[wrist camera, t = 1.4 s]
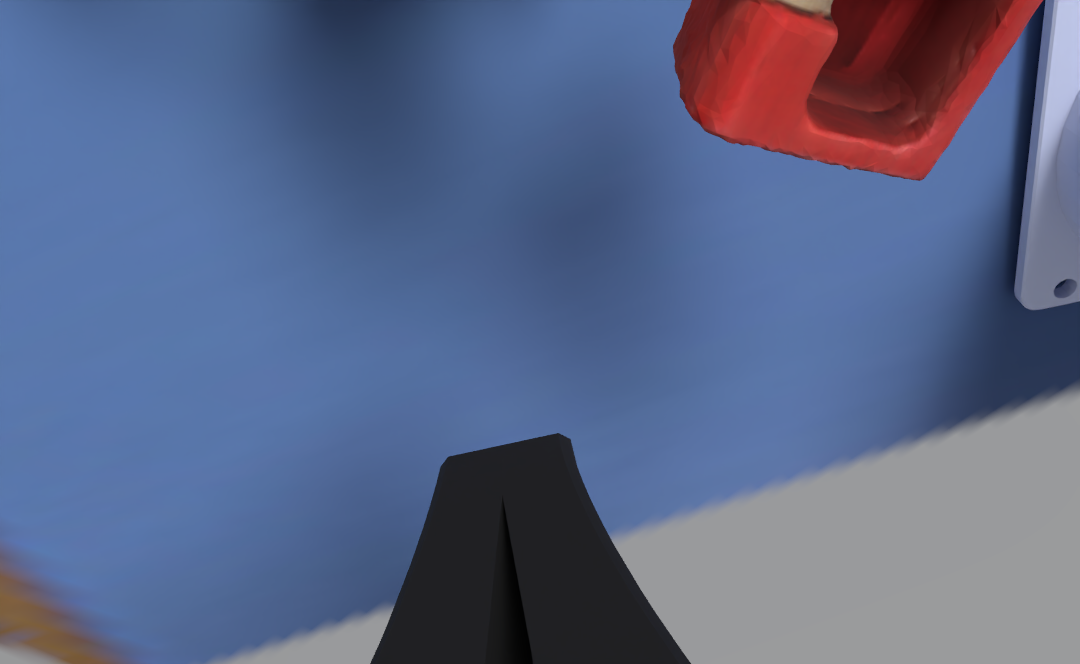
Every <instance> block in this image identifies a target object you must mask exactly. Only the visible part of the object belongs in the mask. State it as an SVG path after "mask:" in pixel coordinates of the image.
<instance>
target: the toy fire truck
mask: <svg viewBox="0 0 1080 664" xmlns="http://www.w3.org/2000/svg"><path fill="white" fill-rule="evenodd" d="M1042 1H1043V0H692V2H691V5H690V8H689V10H688V11H687V13H686V15H685V19H684V22H683V25H682V28H681V30H680V32H679V34H678V36H677V38H676V40H675V43H674V45H673V52H674V58H675V71H676V73H677V75H678V79H679V81H680V98H681V99H682V100H683V102H684V104H685V108H686V109H687V111H688V112H689V114H690V115H691V117H692V118H693V120H695V121H696V122H698V123H699V124H700V125H701V127H702V128H703V129H704V130H705V131H706V132H708V133H710V134H712V135H715V136H718V137H720V138H722V139H724V140H725V141H727V142H729V143H732V144H735V143H739V144H741V145H752V146H757V147H761V148H763V149H764V150H768V151H772V152H780V153H783V154H787V155H793V156H795V157H798V158H802V159H806V160H817V161H820V162H823V163H826V164H830V165H843V166H844V167H846V168H847V169H849V170H851V169H859V170H864V171H870V172H877V173H882V174H885V175H889V176H892V177H901V178H904V179H911V180H919V181H920V180H923V179H924V178H925V177H926V175H927V174H928V173H929V172H930V170H931V169H932V167H933V166H934V165H935V163H936V162H937V160H938V159H939V157H940V156H941V154H942V153H943V152H944V150H945V149H946V148H947V147H948V146H949V144H950V142H951V141H952V139H953V137H954V135H955V133H956V132H957V130H958V128H959V127H960V125H961V124H962V122H963V121H964V120H965V118H966V117H967V115H968V114H969V112H970V111H971V109H972V107H973V106H974V104H975V103H976V101H977V99H978V98H979V96H980V95H981V94H982V92H983V91H984V90H985V88H986V87H987V86H988V84H989V82H990V80H991V79H992V77H993V75H994V73H995V71H996V70H997V68H998V67H999V66H1000V64H1001V63H1002V62H1003V60H1004V59H1005V57H1006V56H1007V54H1008V53H1009V51H1010V50H1011V48H1012V47H1013V45H1014V44H1015V42H1016V41H1017V39H1018V38H1019V36H1020V34H1021V33H1022V31H1023V30H1024V28H1025V26H1026V25H1027V23H1028V22H1029V20H1030V18H1031V17H1032V15H1033V14H1034V12H1035V11H1036V10H1037V8H1038V7H1039V5H1040V4H1041V2H1042Z"/></svg>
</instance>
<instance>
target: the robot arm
mask: <svg viewBox="0 0 1080 664" xmlns="http://www.w3.org/2000/svg"><path fill="white" fill-rule="evenodd" d="M1066 279H1067V280H1066ZM1063 280H1066V282H1065V283H1064V284H1063V285H1062V286H1061V287H1058V288H1056V289H1055V287H1056V285H1058V284H1059V283H1060V282H1061V281H1063ZM1014 292H1015V297H1016V298H1017V299H1018V300H1019V301H1020V302H1021V304H1022V305H1023V306H1024V307H1025V308H1027V309H1030V310H1041V309H1046V308H1051V307H1055V306H1060V305H1065V304H1069V303H1074V302H1079V301H1080V0H1046V1H1045V10H1044V19H1043V29H1042V38H1041V47H1040V56H1039V66H1038V75H1037V84H1036V93H1035V103H1034V112H1033V121H1032V130H1031V139H1030V149H1029V158H1028V167H1027V176H1026V186H1025V195H1024V204H1023V213H1022V223H1021V232H1020V241H1019V250H1018V260H1017V269H1016V278H1015V287H1014ZM370 664H691V663H690V662H689V660H688V659H687V658H686V656H685V655H684V653H683V652H682V651H681V649H680V648H679V646H678V645H677V643H676V642H675V640H674V639H673V637H672V636H671V635H670V633H669V632H668V630H667V629H666V627H665V626H664V624H663V623H662V622H661V620H660V619H659V617H658V616H657V614H656V613H655V611H654V610H653V608H652V607H651V605H650V604H649V602H648V600H647V599H646V597H645V596H644V594H643V593H642V591H641V590H640V588H639V586H638V585H637V583H636V581H635V580H634V578H633V576H632V574H631V573H630V571H629V569H628V568H627V566H626V564H625V563H624V561H623V559H622V558H621V556H620V554H619V553H618V551H617V549H616V548H615V546H614V544H613V542H612V541H611V539H610V537H609V535H608V533H607V531H606V529H605V528H604V526H603V524H602V522H601V520H600V518H599V516H598V514H597V512H596V510H595V508H594V505H593V503H592V501H591V499H590V497H589V495H588V493H587V490H586V488H585V486H584V483H583V481H582V478H581V476H580V473H579V470H578V468H577V464H576V460H575V456H574V452H573V448H572V444H571V440H570V439H569V438H567V437H565V436H563V435H561V434H559V433H557V434H552V435H547V436H543V437H538V438H533V439H529V440H524V441H519V442H515V443H510V444H506V445H501V446H496V447H492V448H487V449H482V450H478V451H473V452H468V453H464V454H459V455H454V456H450V457H448V458H447V459H446V460H445V462H444V463H443V464H442V466H441V468H440V472H439V476H438V480H437V484H436V487H435V491H434V494H433V498H432V501H431V505H430V508H429V511H428V514H427V518H426V521H425V524H424V527H423V530H422V533H421V536H420V539H419V542H418V545H417V548H416V551H415V553H414V556H413V559H412V562H411V565H410V568H409V570H408V573H407V575H406V578H405V581H404V583H403V586H402V588H401V591H400V593H399V596H398V599H397V601H396V604H395V606H394V609H393V612H392V614H391V617H390V619H389V622H388V625H387V627H386V629H385V632H384V634H383V637H382V639H381V641H380V644H379V646H378V648H377V650H376V652H375V655H374V657H373V659H372V661H371V663H370Z"/></svg>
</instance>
